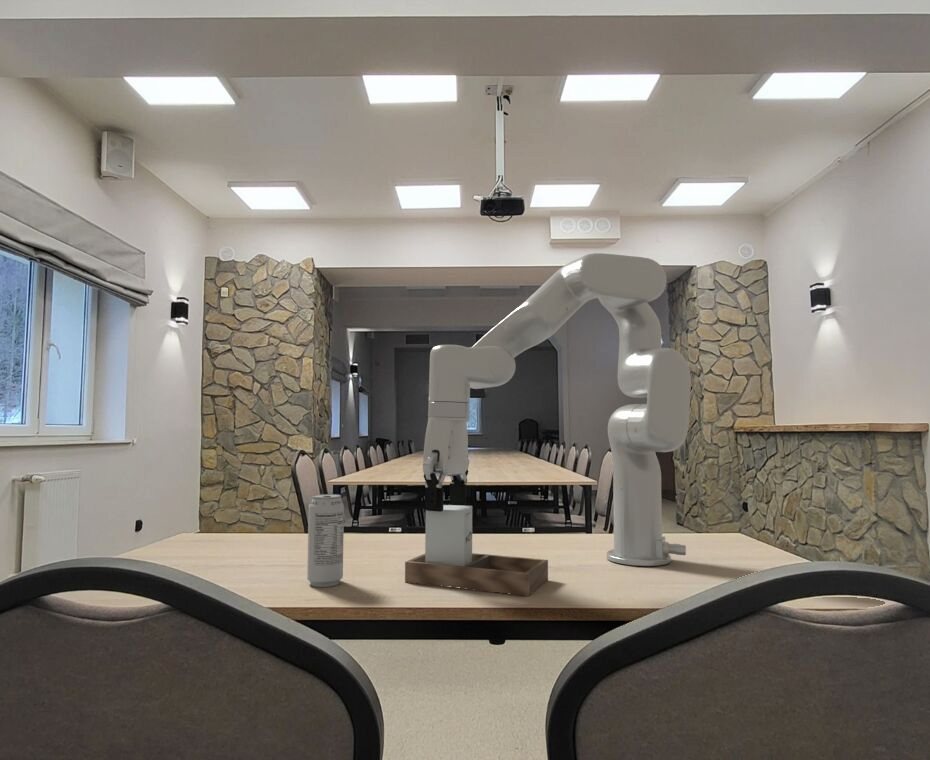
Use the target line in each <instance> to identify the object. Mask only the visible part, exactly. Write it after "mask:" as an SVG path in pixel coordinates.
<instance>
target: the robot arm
mask: <svg viewBox="0 0 930 760" xmlns="http://www.w3.org/2000/svg"><path fill="white" fill-rule="evenodd" d="M667 280H668V279H667V274H666V271H665V270H664V268H663V267H662V265H661V264H660V263H659V262H658V261H656V260H654V259H651V258H648V257H642V256H634V255H633V256H632V255H624V254H622V255H621V254H615V253H602V252H599V253H598V252H597V253H595V252H594V253H593V252H592V253H588V254H585V255H583V256H581V257H579V258H576V259H574V260H571V261H570V262H568V263H566V264H564V265H563V266H562V267H560V268H559V269H558V270H557V271H556V272H555V273H553V274H552V276H551V277H549V278H548V279H547V280H546V281H545V282H544V283H543V284H542V285H541V286H540V287H539V288H538V289H537V290H536V291H535V292H534V293H532V294H531V295H530V296H529V297H528V298H527V299H526V300H525V301H524V302H523V303H521V304H520V305H519V306H518V307H516V309H514V310H513V311H512V312H510V313H509V314H508V315H507V316H505V318H504V319H502V320H501V321H500V322H499V323H497V324H496V325H495V326H494V327H492V328H491V329H490V330H489V331H488V332H486V334H484V335H483V336H482V337H481V338H480V339H479V340H478V341H477V342H476V343H475V344H474V345H473V346H471V347H470V346H468V347H467V346H464V345H458V344H439V345H436V346H432V349H431V350H430V353H429V373H428V374H429V375H428V376H429V377H428V378H429V379H428V409H427V410H428V412H427V417H428V418H427V425H426V428H425V429H426V431H425V434H424V435H425V436H424V444H423V445H424V446H423V457H422V458H423V459H422V460H423V461H422V473H423V479H424V487H425V511H426V510H427V511H438V512H441V511H443V505H445V504H444V502H445V501H444V499H445V498H444V497H445V496H444V494H445V488H444V487H443V485H444V481H445V479H446V477H449V478H450V481H451V483H449V498H448V500H449V501H448V502H449V504H448V505H466V506H467V484H468V478H467V477H468V474H469V470H468V469H469V466H470V465H469V464H470V459H469V439H468V438H469V436H468V423H467V422H470V411H471V410H470V408H471V407H470V406H471V405H470V401H471V389H474V390H479V389H486V388H487V389H488V388H494V387H500V386H502V385H504V384H505V385H506V383H508V382H509V381H510V380H511V379H512V378H513V376H514V375H515V372H516V360H515V358H516V357H517V356H519V355H520V354H522V353H523V352H524V351H526V350H529V349H531V348H533V347H534V346H537V345H539V344H541V343H543V342H545V341H546V340H547V339H549V338H550V337H552V336H553V335H555V334H556V332H557V331H558V330H560V328H561V327H562V326H563V325H564V324H565V323H566V322H567V321H568V320H569V319H570V318H571V317H572V316H573V315H574V314H575V313H576V312H577V311H578V310H580V308H581V307H582V306H584V305H585V304H586V303H587V302H589V301H591V300H594V299H598V301H599V302H600V304H601V305H602V306H603V307H604V308H605V309H606V310H607V311H608V313H609V314H610V315H611V316H612V317H613V318H614V320H615V322H616V324H617V327H618V331H619V335H618V336H619V337H618V338H619V347H618V363H617V384H618V388H619V390H620V391H621V392H622V393H623V394H624V395H625V396H628V397H630V398H636V399H637V398H638V399H639V398H643V399H644V398H646V399H647V400H646V403H634V404H633V403H632V404H625V405H623V406H620V407H618V408H617V409H616V410H614V411H613V413H612V414H611V415H610V417H609V418H608V423H607V437H608V441H609V446H610V451H611V457H612V459H611V460H612V477H613V478H612V482H613V483H612V487H613V489H612V491H613V492H612V493H613V501H612V502H613V547H614V548H613V549H611V550H610V549H609V550H607V552H606V559H607V560H609V561H611V562H613V563H617V564H620V565H621V564H622V565H628V566H635V567H636V566H638V567H656V566H657V567H658V566H663V565H668V564H670V563H671V561H672V556H671V555H672V554H673V555H676V556H686V555H687V545H685V544H680V543H669V542H667V541H666V536H663V512H662V511H663V510H662V507H663V506H662V471H661V466H660V462H659V459H658V456H657V454H656V453H668V452H673V451H677V449H679V448H680V447H682V445H683V444H684V442H685V441H686V439H687V435H688V432H689V431H688V430H689V424H690V408H691V406H690V405H691V387H692V384H691V383H692V382H691V381H692V379H691V378H692V377H691V370H690V367H689V363H688V361H687V360H686V358H685V357H684V355H683V354H682V353H681V352H679V351H677V350H676V349H674V348H669V347H662V328H661V323H660V319H659V317H658V316H657V314H656V312H655V311H654V309H653V308H652V307H651V305H649V303H650V302H652V301H654V300H656V299H658V298H659V297H661V295H662V294H663V293H664V291H665V289H666V286H667Z"/></svg>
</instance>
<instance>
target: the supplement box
mask: <svg viewBox="0 0 930 760" xmlns="http://www.w3.org/2000/svg"><path fill="white" fill-rule="evenodd" d="M424 539H425V541H424V542H425V543H424V544H425V545H424V549H425V551H424V554H425V563H434V564H444V565H454V566H466V565H468V564H469V563H471V562H472V553H473V505H467V504H466V505H450V504H443V511H441V512H438V511H427V510H426V509H425V537H424Z"/></svg>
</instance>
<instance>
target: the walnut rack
mask: <svg viewBox="0 0 930 760" xmlns="http://www.w3.org/2000/svg"><path fill="white" fill-rule="evenodd" d="M548 581H549V560H548V559H544V558H543V559H541V558H533V557H532V558H531V557H529V558H528V557H519V556H518V557H517V556H508V555H498V554H497V555H496V554H489V553H488V554H486V553H476V552H475V553H474V552H472V562H471V563H469V564H468V565H466V566H454V565H444V564H434V563H425V553H424V554H421V555H418V556H416V557H413V558H411V559H408V560H406V561H404V583H407V582H408V584H416V583H419V584H418V585H424V584H430V585H429V586H433V585H440V586H439V587H442V586H451V587H460V588H467V589H466V590H468V589H475V590H474V591H476V590H482V591H481V592H485V591H490V592H489V593H494V592H500V593H499V594H502V593H510V594H509V595H511V594H516V595H515V596H520V595H525V596H524V597H529V596H531V595H532V594H533V593H534V592H536V591H537V590H538V589H539V588H540V587H542V586H543V585H544V584H545V583H546V582H548ZM441 585H442V586H441ZM536 589H537V590H536ZM532 592H533V593H532ZM531 593H532V594H531Z"/></svg>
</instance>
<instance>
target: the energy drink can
mask: <svg viewBox="0 0 930 760" xmlns="http://www.w3.org/2000/svg"><path fill="white" fill-rule="evenodd" d="M311 497H312V500H311V501H310V502H309V504H308V521H307V522H308V523H307V524H308V525H307V567H306V568H307V573H306V574H307V580H308V581H309V582H310V584H309V585H310V586H311V587H315V588H329V587H335V586H337V585H339V584H340V582H341V580H342V579H343V578H344V537H345V536H344V529H345V527H344V526H345V525H344V524H345V523H344V522H345V518H344V517H345V505H344V503H343V501H342V498H341V494H335V493H332V494H331V493H330V494H329V493H328V494H327V493H326V494H315V495H312V496H311Z"/></svg>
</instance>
